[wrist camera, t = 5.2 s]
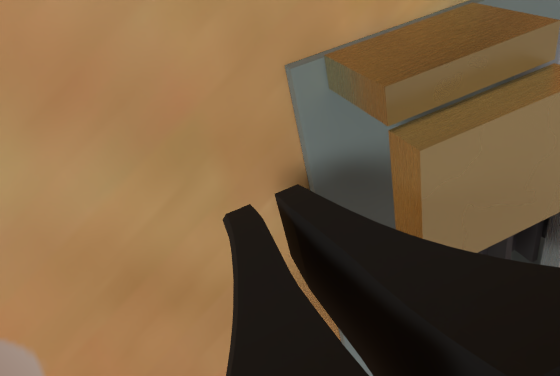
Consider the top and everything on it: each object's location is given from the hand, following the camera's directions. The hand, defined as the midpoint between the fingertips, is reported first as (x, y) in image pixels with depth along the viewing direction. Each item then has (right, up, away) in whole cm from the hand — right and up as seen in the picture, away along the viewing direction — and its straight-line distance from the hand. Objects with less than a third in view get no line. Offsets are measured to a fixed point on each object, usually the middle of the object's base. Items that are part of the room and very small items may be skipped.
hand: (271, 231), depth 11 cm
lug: (+4, +3, +4) cm, 7 cm away
